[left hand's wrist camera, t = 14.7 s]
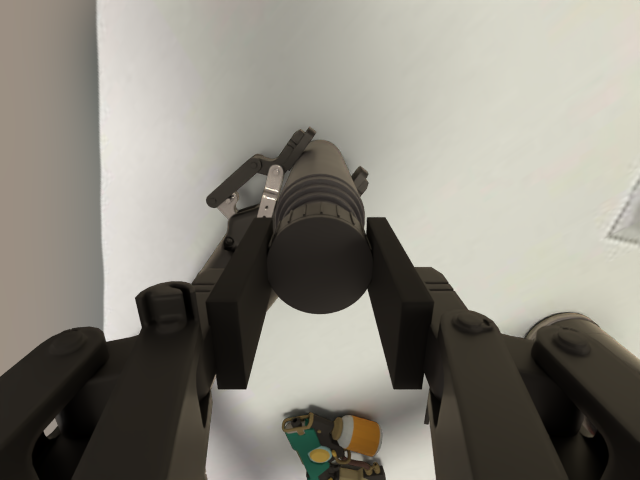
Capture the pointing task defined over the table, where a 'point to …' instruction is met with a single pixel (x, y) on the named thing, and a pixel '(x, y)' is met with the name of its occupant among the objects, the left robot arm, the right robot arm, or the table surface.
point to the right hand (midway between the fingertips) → (338, 150)
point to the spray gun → (335, 446)
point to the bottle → (320, 182)
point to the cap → (319, 259)
